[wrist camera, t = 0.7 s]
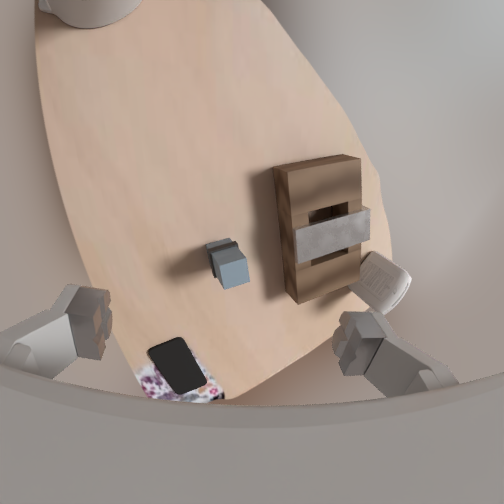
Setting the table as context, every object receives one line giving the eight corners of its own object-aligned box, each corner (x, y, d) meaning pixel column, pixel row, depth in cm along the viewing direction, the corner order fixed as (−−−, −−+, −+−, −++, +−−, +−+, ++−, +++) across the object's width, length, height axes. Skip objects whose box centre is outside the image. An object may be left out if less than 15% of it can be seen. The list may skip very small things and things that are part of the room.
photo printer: (353, 292, 68) (388, 322, 57) (343, 284, 66) (379, 314, 55) (380, 256, 67) (419, 281, 56) (372, 246, 64) (412, 271, 54)
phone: (177, 396, 61) (146, 351, 53) (176, 393, 62) (145, 348, 54) (208, 383, 62) (182, 336, 55) (207, 380, 63) (181, 334, 56)
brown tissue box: (272, 166, 49) (287, 172, 45) (343, 154, 53) (360, 158, 49) (285, 291, 60) (298, 304, 56) (345, 269, 64) (359, 280, 60)
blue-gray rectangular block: (203, 243, 50) (216, 264, 43) (230, 235, 51) (248, 255, 44) (209, 268, 52) (222, 292, 45) (235, 260, 53) (252, 282, 47)
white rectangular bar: (283, 222, 51) (295, 230, 48) (356, 202, 56) (370, 209, 52) (286, 254, 54) (298, 264, 51) (356, 232, 58) (369, 239, 55)
